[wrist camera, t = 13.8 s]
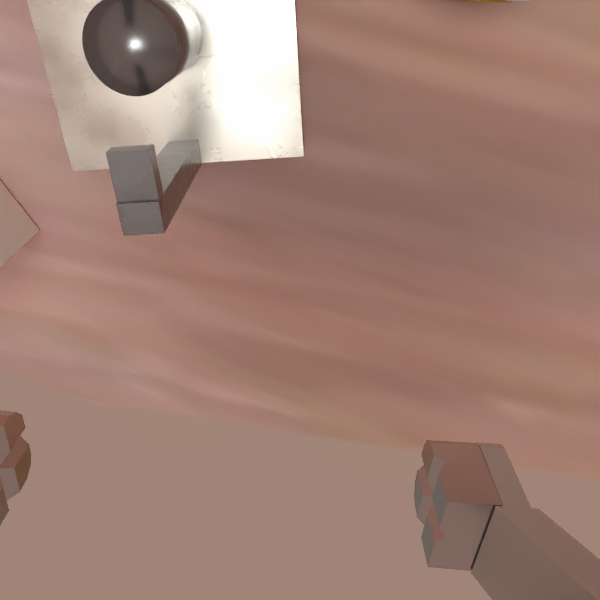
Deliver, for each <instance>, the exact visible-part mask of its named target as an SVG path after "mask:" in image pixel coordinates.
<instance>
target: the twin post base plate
mask: <svg viewBox="0 0 600 600" xmlns="http://www.w3.org/2000/svg"><path fill="white" fill-rule="evenodd" d="M27 3H28V7H29V11H30V14H31V18H32V22H33V26H34V29H35V33H36V37H37V40H38V44H39V48H40V52H41V55H42V59H43V63H44V66H45V70H46V74H47V78H48V81H49V85H50V89H51V92H52V96H53V100H54V104H55V107H56V111H57V115H58V118H59V122H60V126H61V130H62V133H63V137H64V141H65V144H66V148H67V152H68V156H69V159H70V163H71V167H72V170H73V171H85V170H100V169H110V173H111V178H112V182H113V186H114V190H115V195H116V199H117V204H116V205H117V210H118V214H119V218H120V222H121V226H122V231H123V235H124V236H125V235H142V234H158V233H165V231H166V229H167V227H168V225H169V224H170V222H171V220H172V218H173V216H174V214H175V212H176V211H177V209H178V207H179V205H180V203H181V201H182V199H183V197H184V196H185V194H186V192H187V190H188V188H189V186H190V184H191V183H192V181H193V179H194V177H195V175H196V173H197V171H198V170H199V168H200V166H201V164H202V163H208V162H224V161H239V160H254V159H270V158H285V157H301V156H304V153H303V136H302V119H301V102H300V85H299V68H298V51H297V34H296V17H295V0H27Z"/></svg>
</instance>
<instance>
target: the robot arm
mask: <svg viewBox="0 0 600 600" xmlns="http://www.w3.org/2000/svg"><path fill="white" fill-rule="evenodd" d="M24 429H25V424H24V420H23V417H22V415H21V414H19V413H17V412H9V411H0V525H1V523H2V522H3V520H4V518H5V517H6V515H7V513H8V511H9V508H8V504H7V500H8V499H10V498H11V497H13V496H14V495H16V494H17V493H19V492H20V490H21V489H22V487H23V485H24V484H25V482H26V480H27V477H28V473H29V469H30V465H31V451H30V446H29V444H28V443H27V442H26V441H25V440H24V439H23V438H22V437H20V435H21V433H22V432H23V431H24ZM422 458H423V463H424V466H422V467H421V468H420V469H419V470H418V471H417V475H416V480H415V491H414V499H415V508H416V513H417V518H418V519H419V520H420V521H421V522H422V523H423V524H424V528H423V532H422V536H421V538H422V542H423V547H424V552H425V556H426V561H427V565H428V567H434V568H435V567H436V568H445V569H457V570H468V571H472V572H471V574H472V575H473V576H474V577H475V579H476V580H477V581H478V582H479V584H480V585H481V586H482V587H483V589H484V590H485V591H486V592H487V594H488V595H489V596H490V597H491V599H492V600H600V559H599V558H597V557H596V556H595V555H594V554H593V553H591V552H590V551H589V550H588V549H586V548H585V547H584V546H583V545H582V544H581V543H579V542H578V541H577V540H576V539H574V538H573V537H572V536H571V535H570V534H568V533H567V532H566V531H565V530H563V529H562V528H561V527H560V526H559V525H557V524H556V523H555V522H554V521H553V520H552V519H550V518H549V517H548V516H547V515H546V514H544V513H543V512H542V511H541V510H539V509H533V508H531V506H530V504H529V502H528V500H527V497H526V495H525V493H524V491H523V488H522V486H521V484H520V482H519V479H518V477H517V475H516V473H515V470H514V468H513V466H512V464H511V461H510V459H509V457H508V455H507V452H506V450H505V448H504V447H503V446H502V445H501V444H490V443H467V442H450V441H434V440H427V441H426V443H425V444H424V447H423V451H422Z"/></svg>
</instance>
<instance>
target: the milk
mask: <svg viewBox="0 0 600 600" xmlns="http://www.w3.org/2000/svg"><path fill="white" fill-rule="evenodd" d="M38 231H39V229H38V227H37V226H36V225H35V223H34V222H33V221H32V220H31V218H30V217H29V216H28V215H27V213H26V212H25V211H24V209H23V208H22V207H21V206H20V204H19V203H18V202H17V201H16V199H15V198H14V197H13V196H12V194H11V193H10V192H9V190H8V189H7V188H6V187H5V185H4V184H3V183H2V182H1V180H0V267H1V266H2V265H3V264H4V263H5V262H6V261H7V260H8V259H9V258H10V257H12V256H13V255H14V254H15V253H16V252H17V251H18V250H19V249H20V248H21V247H22V246H23V245H24V244H25V243H27V242H28V241H29V240H30V239H31V238H32V237H33V236H34V235H35V234H36V233H37V232H38Z"/></svg>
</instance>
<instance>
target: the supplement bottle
mask: <svg viewBox="0 0 600 600" xmlns="http://www.w3.org/2000/svg"><path fill="white" fill-rule="evenodd" d="M464 1H474V2H526V1H534V0H464Z"/></svg>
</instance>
